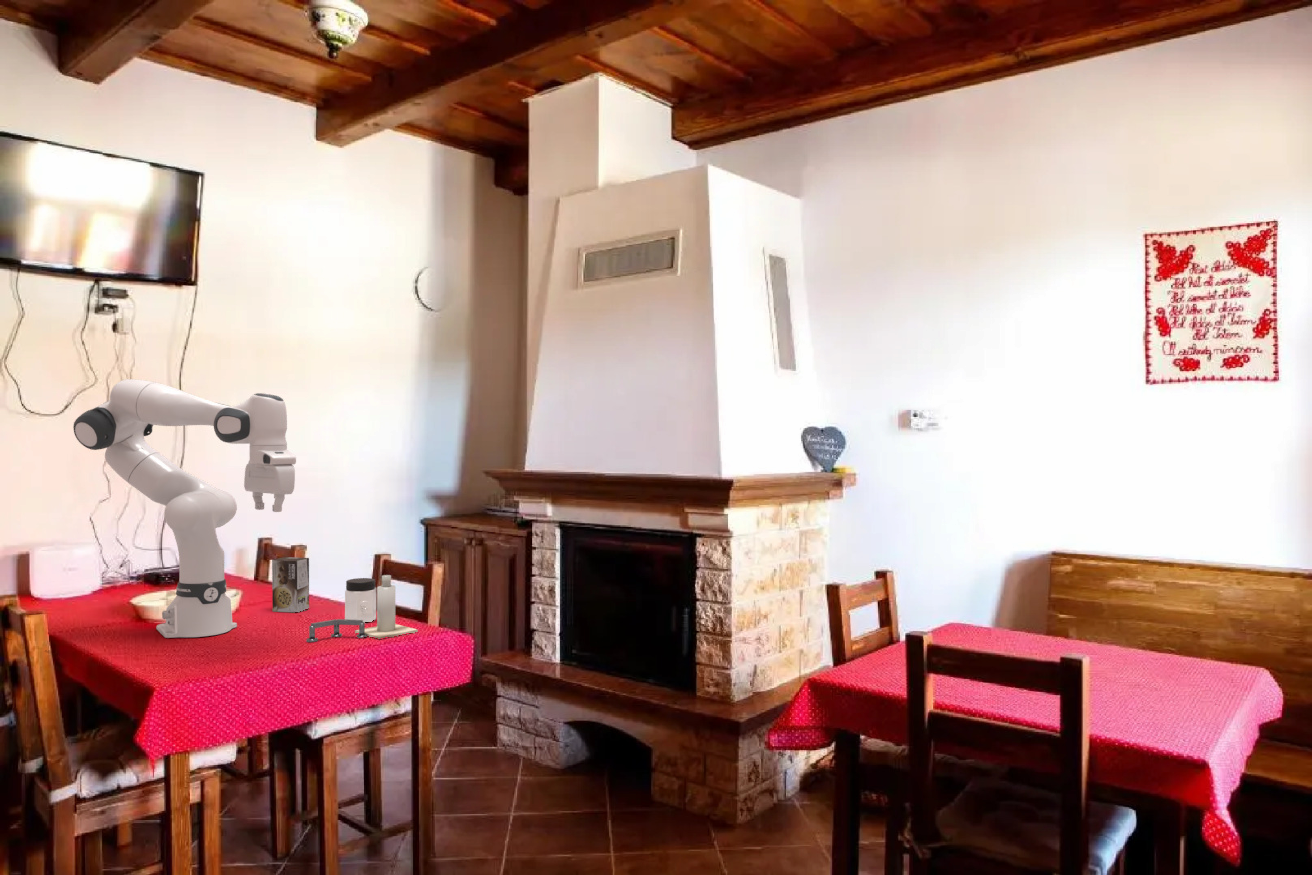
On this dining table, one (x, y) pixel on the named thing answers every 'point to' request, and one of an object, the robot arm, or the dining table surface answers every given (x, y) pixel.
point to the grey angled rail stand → (336, 628)
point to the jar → (360, 599)
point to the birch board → (398, 631)
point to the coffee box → (290, 584)
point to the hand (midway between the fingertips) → (268, 510)
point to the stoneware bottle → (386, 605)
